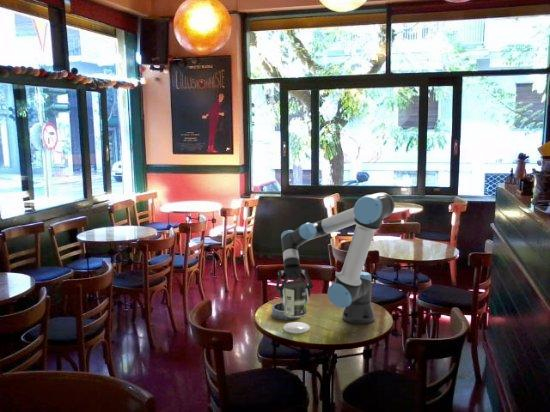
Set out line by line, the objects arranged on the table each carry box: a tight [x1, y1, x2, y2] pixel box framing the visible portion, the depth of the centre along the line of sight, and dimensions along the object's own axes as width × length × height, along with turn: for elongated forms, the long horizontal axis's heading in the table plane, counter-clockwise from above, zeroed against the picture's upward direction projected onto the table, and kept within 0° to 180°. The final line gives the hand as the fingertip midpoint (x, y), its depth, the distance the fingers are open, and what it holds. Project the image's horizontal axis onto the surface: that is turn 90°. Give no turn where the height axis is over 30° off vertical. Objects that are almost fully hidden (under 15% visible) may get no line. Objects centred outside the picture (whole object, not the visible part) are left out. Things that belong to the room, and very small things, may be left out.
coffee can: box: [283, 280, 308, 318], centre depth 241 cm, size 10×10×14 cm
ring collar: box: [271, 301, 301, 321], centre depth 261 cm, size 14×14×4 cm
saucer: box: [283, 321, 311, 335], centre depth 243 cm, size 12×12×1 cm
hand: (296, 303), depth 239 cm, fingers closed on coffee can, 10 cm apart
